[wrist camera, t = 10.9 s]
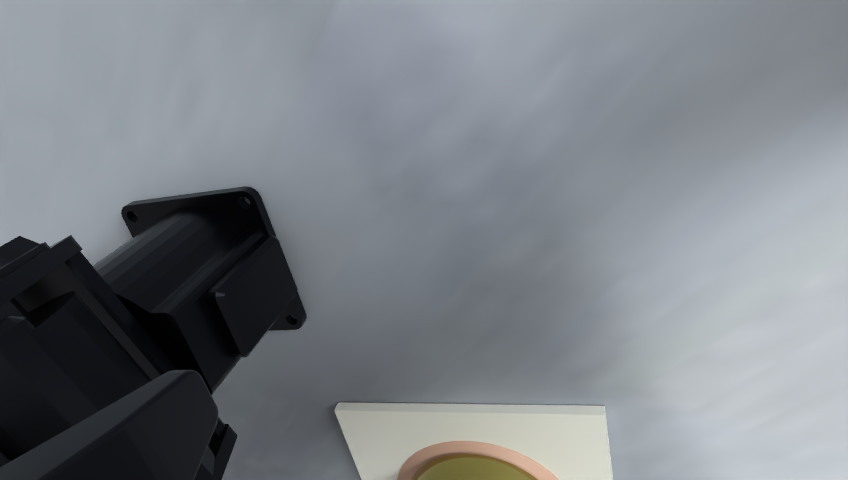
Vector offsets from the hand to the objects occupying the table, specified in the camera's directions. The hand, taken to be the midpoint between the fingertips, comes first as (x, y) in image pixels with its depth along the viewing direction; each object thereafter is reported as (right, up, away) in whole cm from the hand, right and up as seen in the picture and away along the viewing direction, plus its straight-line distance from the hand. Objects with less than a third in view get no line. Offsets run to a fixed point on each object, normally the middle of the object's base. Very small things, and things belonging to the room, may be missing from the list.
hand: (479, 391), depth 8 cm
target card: (+2, -10, +20) cm, 22 cm away
